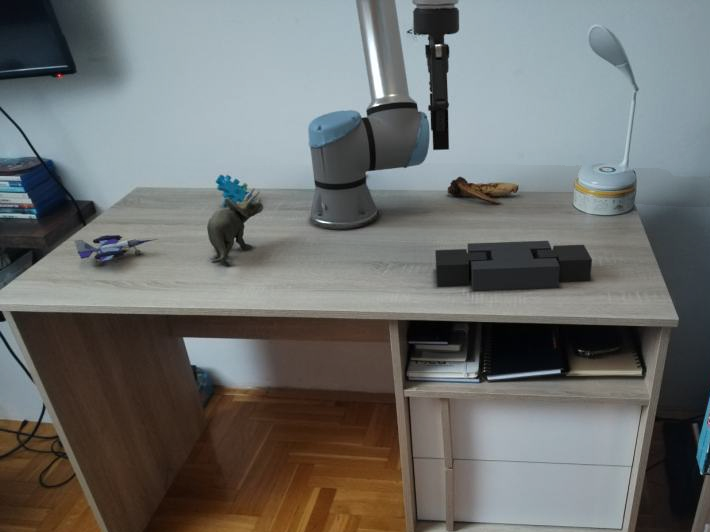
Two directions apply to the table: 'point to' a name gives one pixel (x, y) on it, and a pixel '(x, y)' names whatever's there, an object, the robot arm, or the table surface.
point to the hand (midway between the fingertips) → (439, 139)
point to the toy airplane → (107, 247)
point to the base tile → (513, 266)
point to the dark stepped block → (570, 261)
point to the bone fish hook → (481, 189)
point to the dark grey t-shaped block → (455, 266)
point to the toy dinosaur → (231, 226)
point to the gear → (232, 189)
